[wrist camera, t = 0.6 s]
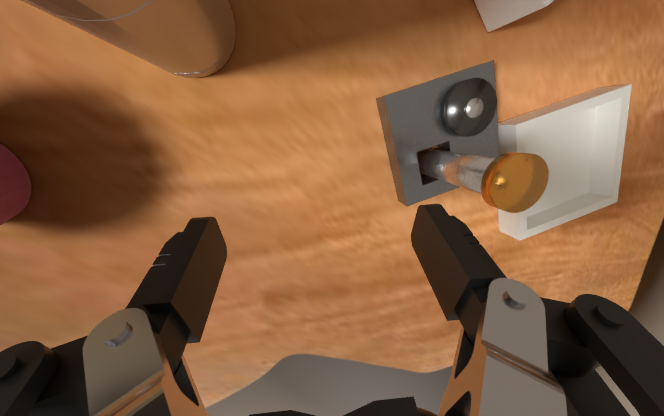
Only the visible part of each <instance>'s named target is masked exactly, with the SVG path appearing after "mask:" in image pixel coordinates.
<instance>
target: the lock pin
mask: <svg viewBox="0 0 664 416" xmlns="http://www.w3.org/2000/svg"><path fill="white" fill-rule="evenodd" d="M417 158H418V164H419V170H420V173H421V174H424V175H427V176H430V177H433V178H436V179H439V180H442V181H445V182H448V183H451V184H454V185H457V186H460V187H463V188H466V189H469V190H472V191H475V192H478V193H481V194H482V197H483V199H484V200H485V202H486V203H488V204H489V205H491V206H493V207H496V208H498V209H501V210H504V211H506V212H509V213H519V212H522V211H525V210H527V209H529V208H530V207H532V206H533V205H534V204H535V203H536V202H537V201H538V200H539V199H540V197H541V196H542V194H543V193H544V191H545V189H546V186H547V183H548V178H549V171H548V166H547V164H546V162H545V161H544V159H543V158H542V157H540V156H538V155H536V154H529V153H520V152H507V153H504V154H502V155H500V156H498V157H497V158H489V157H482V156H476V155H469V154H462V153H455V152H448V151H442V150H435V149H428V148H427V149H424V150H421V151H419V152H417Z"/></svg>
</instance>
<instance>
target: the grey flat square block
mask: <svg viewBox="0 0 664 416" xmlns="http://www.w3.org/2000/svg"><path fill="white" fill-rule="evenodd" d="M376 101H377V106H378V110H379V115H380V119H381V124H382V128H383V133H384V137H385V142H386V147H387V151H388V156H389V160H390V165H391V169H392V174H393V178H394V183H395V187H396V192H397V197H398V201H400V202H401V203H403V204H404V205H406V206H409V205H412V204H415V203H418V202H420V201H423V200H426V199H428V198H431V197H434V196H437V195H439V194H442V193H445V192H447V191H450V190H453V189H455V188H458V187H460V186H457V185H454V184H451V183H448V182H445V181H442V180H439V179H436V178H433V177H430V176H426V177H423V178H421V175H420V170H419V164H418V158H417V153H416V152H419V151H421V150H424V149H427V148H430V147H433V146H436V145H438V150H442V151H448V152H455V153H462V154H469V155H476V156H482V157H489V158H497V157H498V156H499V141H498V124H497V107H496V106H497V98H496V89H495V72H494V60H493V61H490V62H486V63H483V64H480V65H477V66H474V67H471V68H468V69H465V70H462V71H459V72H456V73H453V74H450V75H446V76H443V77H440V78H437V79H434V80H431V81H428V82H425V83H422V84H419V85H416V86H413V87H410V88H407V89H404V90H401V91H398V92H395V93H392V94H389V95H386V96H382V97H379V98H376Z"/></svg>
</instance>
